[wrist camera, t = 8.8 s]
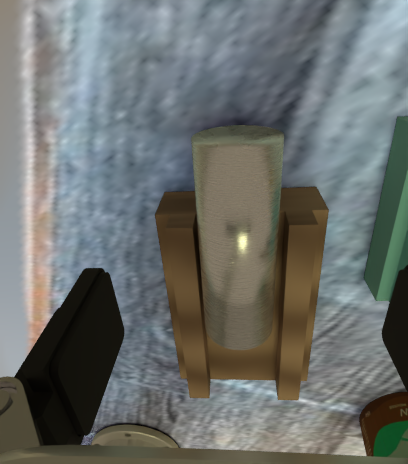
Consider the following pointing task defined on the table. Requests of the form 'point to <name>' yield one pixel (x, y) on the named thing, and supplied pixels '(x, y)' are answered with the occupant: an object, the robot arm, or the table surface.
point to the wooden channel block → (285, 296)
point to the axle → (238, 229)
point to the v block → (391, 221)
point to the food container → (386, 426)
